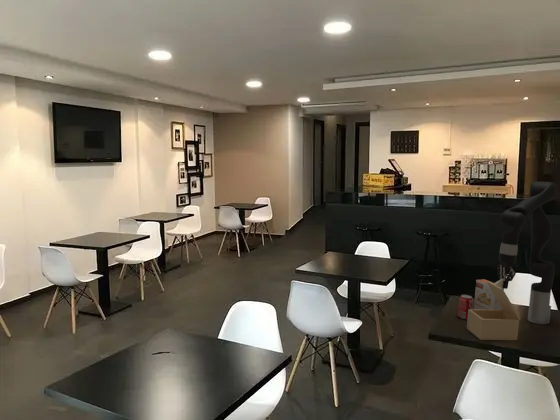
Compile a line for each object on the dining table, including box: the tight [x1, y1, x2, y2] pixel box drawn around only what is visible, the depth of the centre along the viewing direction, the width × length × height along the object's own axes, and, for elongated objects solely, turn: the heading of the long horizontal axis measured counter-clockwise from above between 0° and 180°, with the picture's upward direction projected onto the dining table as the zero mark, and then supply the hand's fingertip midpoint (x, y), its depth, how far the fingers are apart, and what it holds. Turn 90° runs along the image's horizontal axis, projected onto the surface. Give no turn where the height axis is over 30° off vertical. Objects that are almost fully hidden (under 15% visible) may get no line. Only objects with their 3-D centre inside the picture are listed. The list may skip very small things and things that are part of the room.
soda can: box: [457, 294, 474, 320], centre depth 237 cm, size 7×7×12 cm
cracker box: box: [473, 278, 505, 310], centre depth 233 cm, size 14×6×21 cm, turn 17°
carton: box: [466, 308, 520, 341], centre depth 216 cm, size 18×14×10 cm
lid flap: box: [486, 278, 521, 321], centre depth 215 cm, size 18×14×6 cm
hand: (503, 287), depth 214 cm, fingers closed
